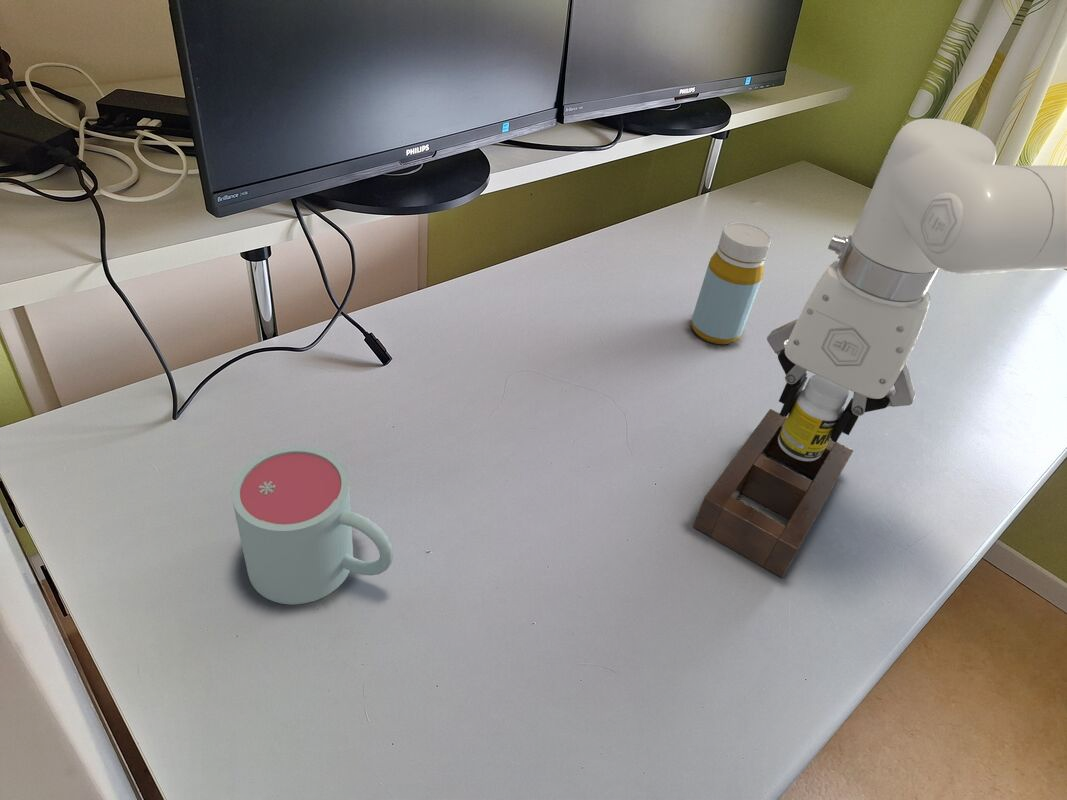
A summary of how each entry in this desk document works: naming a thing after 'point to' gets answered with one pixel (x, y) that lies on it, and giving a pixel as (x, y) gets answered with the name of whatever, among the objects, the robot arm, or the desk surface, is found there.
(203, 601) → the desk surface
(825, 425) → the supplement bottle
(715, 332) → the bottle
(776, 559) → the holder
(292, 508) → the mug
